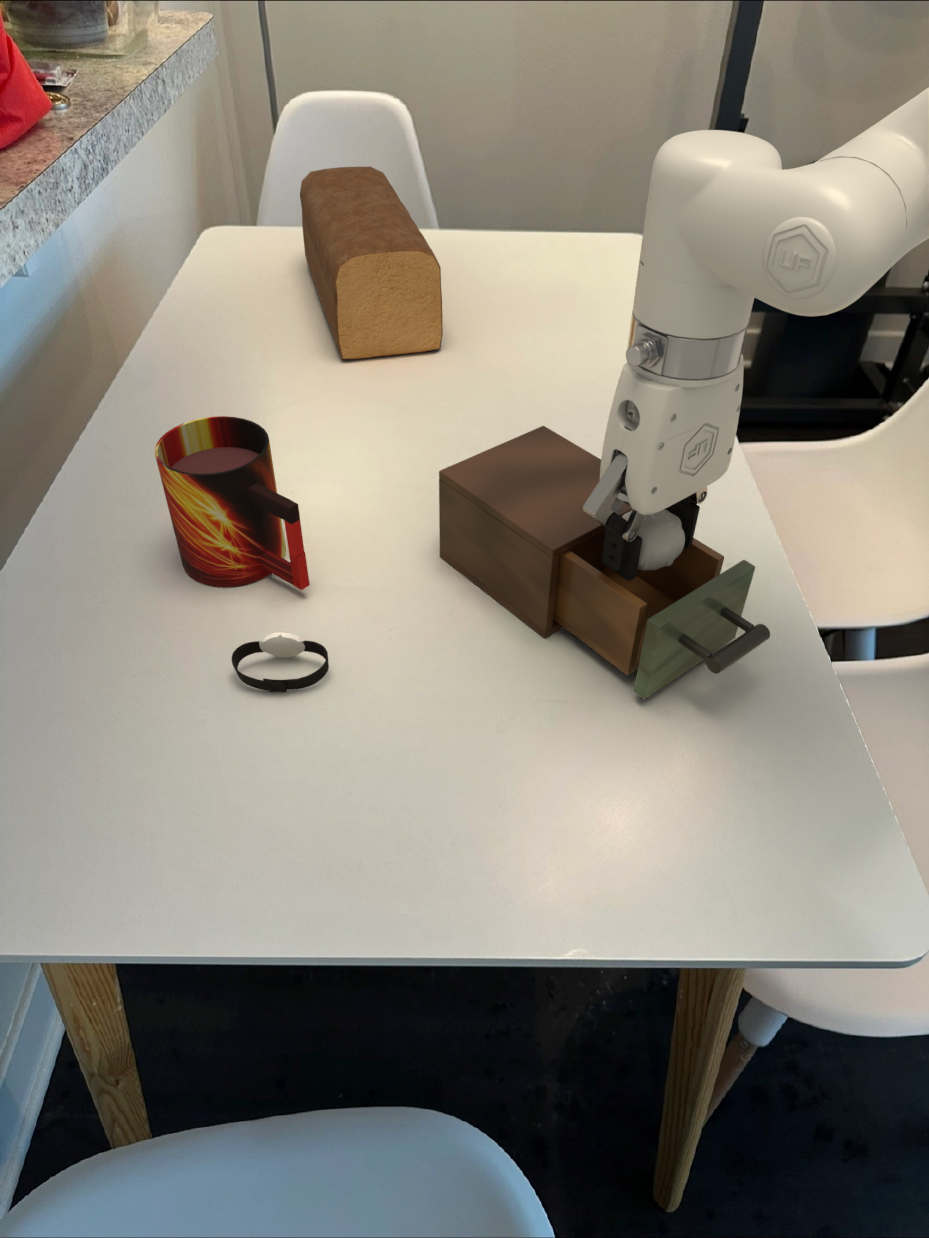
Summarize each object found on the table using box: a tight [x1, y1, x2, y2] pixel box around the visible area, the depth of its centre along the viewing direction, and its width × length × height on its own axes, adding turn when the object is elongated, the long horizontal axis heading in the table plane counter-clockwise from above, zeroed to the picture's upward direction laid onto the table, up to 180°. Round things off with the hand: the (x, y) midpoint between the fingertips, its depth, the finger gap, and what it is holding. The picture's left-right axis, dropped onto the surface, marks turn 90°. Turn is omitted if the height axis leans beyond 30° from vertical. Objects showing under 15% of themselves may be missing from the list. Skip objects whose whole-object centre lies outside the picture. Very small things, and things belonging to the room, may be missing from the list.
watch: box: [231, 631, 330, 693], centre depth 74 cm, size 8×5×4 cm, turn 92°
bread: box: [299, 166, 444, 360], centre depth 124 cm, size 14×34×14 cm, turn 15°
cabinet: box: [438, 425, 632, 639], centre depth 82 cm, size 15×13×10 cm
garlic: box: [622, 509, 685, 571], centre depth 72 cm, size 6×5×5 cm
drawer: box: [553, 530, 771, 700], centre depth 75 cm, size 18×11×8 cm, turn 39°
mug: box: [154, 415, 310, 591], centre depth 82 cm, size 10×14×12 cm
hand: (646, 553), depth 73 cm, fingers closed on garlic, 5 cm apart
